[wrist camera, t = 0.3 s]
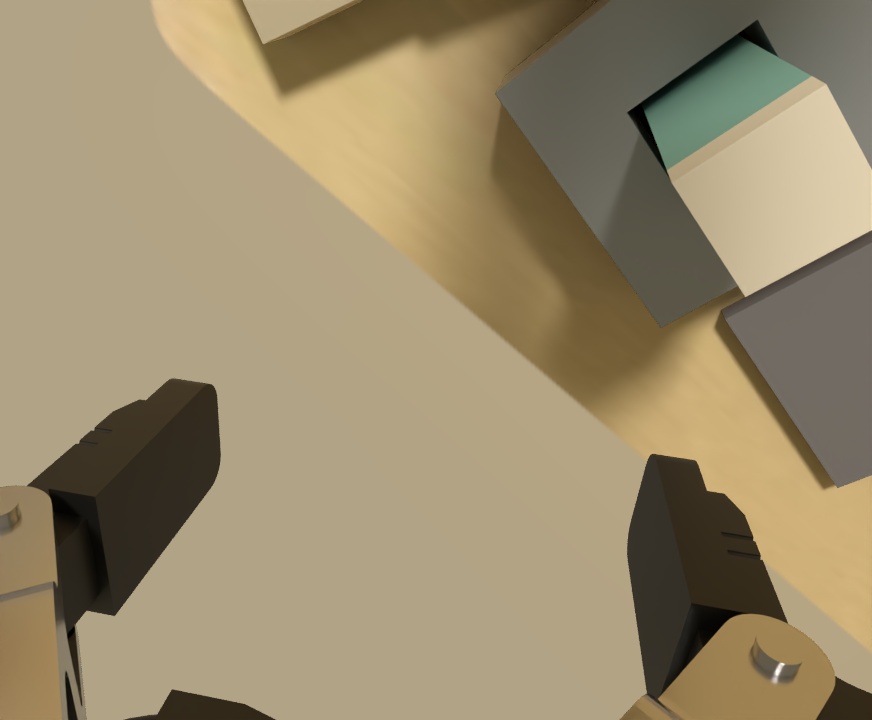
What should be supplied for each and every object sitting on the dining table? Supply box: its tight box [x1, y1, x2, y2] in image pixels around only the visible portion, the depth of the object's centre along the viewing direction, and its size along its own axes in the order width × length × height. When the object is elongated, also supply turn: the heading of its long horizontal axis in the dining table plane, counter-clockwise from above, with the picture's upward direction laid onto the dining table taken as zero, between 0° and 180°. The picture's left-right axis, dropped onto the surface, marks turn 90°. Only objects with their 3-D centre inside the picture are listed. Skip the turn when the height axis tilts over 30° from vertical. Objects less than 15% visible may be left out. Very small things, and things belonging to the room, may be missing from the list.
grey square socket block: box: [495, 0, 872, 328], centre depth 27 cm, size 12×12×4 cm
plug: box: [641, 34, 872, 297], centre depth 23 cm, size 4×4×13 cm
